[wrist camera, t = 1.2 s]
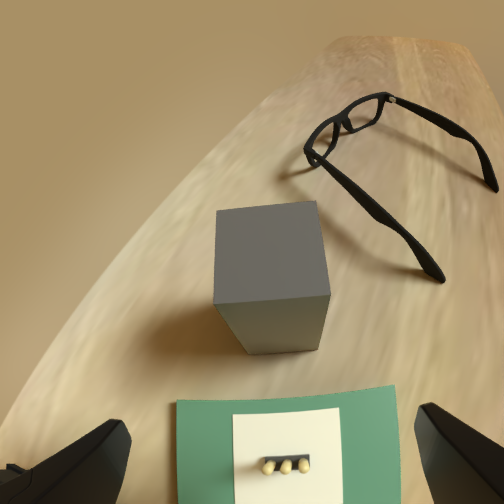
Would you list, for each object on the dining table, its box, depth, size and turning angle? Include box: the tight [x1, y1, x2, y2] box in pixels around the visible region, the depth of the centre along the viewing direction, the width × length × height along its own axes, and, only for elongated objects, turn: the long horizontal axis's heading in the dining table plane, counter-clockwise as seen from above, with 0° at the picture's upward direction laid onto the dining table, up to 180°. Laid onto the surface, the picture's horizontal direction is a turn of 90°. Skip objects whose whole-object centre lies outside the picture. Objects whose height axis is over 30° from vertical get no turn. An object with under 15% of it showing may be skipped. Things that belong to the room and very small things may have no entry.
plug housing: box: [213, 201, 331, 355], centre depth 19 cm, size 5×5×10 cm
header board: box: [176, 385, 401, 504], centre depth 16 cm, size 9×15×5 cm, turn 92°
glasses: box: [303, 92, 499, 283], centre depth 27 cm, size 17×18×5 cm
